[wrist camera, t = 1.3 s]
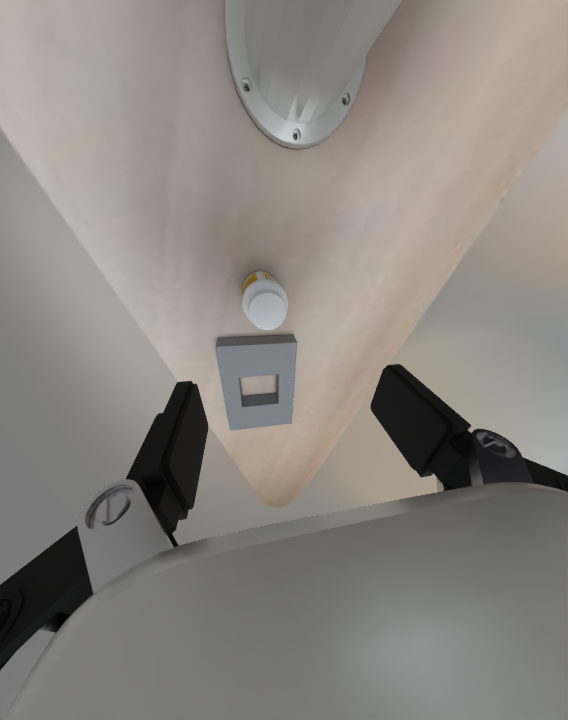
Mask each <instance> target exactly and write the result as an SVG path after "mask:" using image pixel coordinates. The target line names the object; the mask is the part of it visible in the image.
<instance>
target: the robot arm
mask: <svg viewBox="0 0 568 720" xmlns="http://www.w3.org/2000/svg"><path fill="white" fill-rule="evenodd" d="M402 1H403V0H225V32H226V42H227V51H228V56H229V62H230V67H231V72H232V75H233V78H234V81H235V85H236V88H237V91H238V93H239V96H240V98H241V100H242V102H243V104H244V107H245V109H246V110H247V112H248V113H249V115H250V117H251V118H252V120H253V121H254V123H255V124H256V125H257V126H258V127H259V128H260V130H261V131H262V132H263V133H264V134H265V135H266V136H268V137H269V138H270V139H272V140H273V141H274V142H276V143H278V144H280V145H282V146H285V147H288V148H294V149H303V148H309V147H312V146H314V145H317V144H319V143H320V142H322V141H323V140H325V139H326V138H328V137H329V136H330V135H331V134H332V133H333V132H334V131H335V130H336V129H337V127H338V126H339V125H340V124H341V122H342V121H343V120H344V118H345V117H346V115H347V114H348V112H349V110H350V108H351V107H352V105H353V103H354V100H355V98H356V95H357V93H358V90H359V87H360V85H361V81H362V77H363V73H364V69H365V65H366V58H367V53H368V52H369V50H370V49H371V47H372V46H373V44H374V43H375V41H376V40H377V38H378V37H379V35H380V34H381V32H382V31H383V29H384V28H385V26H386V25H387V23H388V22H389V20H390V19H391V17H392V16H393V14H394V13H395V11H396V10H397V8H398V7H399V5H400V4H401V2H402ZM245 87H248V88H249V92H246V91H244V88H245ZM342 100H343V101H344V104H345V105H343V103H342ZM293 135H296V136H297V140H294V138H293ZM371 410H372V412H373V414H374V415H375V416H376V418H377V419H378V421H379V422H380V423H381V425H382V426H383V428H384V429H385V431H386V432H387V433H388V435H389V436H390V438H391V439H392V441H393V442H394V443H395V445H396V446H397V448H398V449H399V451H400V452H401V453H402V455H403V456H404V458H405V459H406V460H407V462H408V463H409V465H410V466H411V467H412V468H413V469H414V470H416V471H417V473H418V474H419V475H420V477H426V476H431V475H432V474H433V473H434V474H435V476H436V477H437V493H432V494H426V495H421V496H416V497H411V498H405V499H400V500H394V501H390V502H385V503H379V504H373V505H368V506H363V507H358V508H353V509H347V510H342V511H337V512H332V513H327V514H322V515H317V516H311V517H307V518H301V519H297V520H291V521H286V522H281V523H276V524H271V525H266V526H261V527H256V528H251V529H246V530H242V531H238V532H233V533H228V534H223V535H219V536H214V537H210V538H205V539H202V540H198V541H194V542H191V543H187V544H183V545H179V543H178V541H177V539H176V537H175V536H174V534H173V532H174V531H175V530H176V527H177V523H178V520H183V519H186V518H187V515H188V510H189V509H192V508H193V506H194V502H195V496H196V491H197V486H198V481H199V475H200V470H201V465H202V459H203V454H204V449H205V443H206V438H207V432H208V422H207V418H206V415H205V411H204V408H203V404H202V400H201V397H200V393H199V389H198V386H197V384H193V382H192V381H185V382H177V384H176V386H175V388H174V390H173V392H172V395H171V397H170V399H169V401H168V404H167V406H166V408H165V410H164V412H163V413H160V414H158V415H157V416H156V418H155V419H154V421H153V424H152V426H151V428H150V430H149V432H148V434H147V436H146V438H145V440H144V442H143V444H142V446H141V448H140V450H139V453H138V455H137V457H136V459H135V461H134V463H133V465H132V467H131V469H130V471H129V474H128V475H127V477H126V480H120V481H117V482H113V483H111V484H110V485H108V486H106V487H104V488H103V489H102V490H100V491H99V492H98V493H96V494H95V495H94V496H93V497H92V498H91V499H90V500H89V501H88V503H87V504H86V505H85V507H84V508H83V510H82V512H81V514H80V516H79V519H78V525H77V526H76V527H75V528H73V529H72V530H71V531H69V532H68V533H67V534H66V535H64V536H63V537H62V538H60V539H59V540H58V541H57V542H55V543H54V544H53V545H51V546H50V547H49V548H47V549H46V550H45V551H44V552H42V553H41V554H40V555H39V556H37V557H36V558H34V559H33V560H32V561H31V562H29V563H28V564H27V565H25V566H24V567H23V568H21V569H20V570H19V571H18V572H17V573H15V574H14V575H12V576H11V577H10V578H8V579H7V580H6V581H5V582H3V583H2V584H1V585H0V716H1V715H2V714H3V712H4V711H5V710H6V708H7V707H8V705H9V704H10V703H11V701H12V700H13V699H14V697H15V696H16V695H17V696H16V698H15V700H14V702H13V703H12V705H11V707H10V709H9V711H8V713H7V714H6V716H5V718H4V720H568V476H567V475H565V474H562V473H560V472H557V471H555V470H552V469H550V468H548V467H545V466H543V465H540V464H538V463H535V462H532V461H530V460H528V459H525V458H523V457H522V455H521V453H520V452H519V450H518V448H517V447H516V446H515V445H514V444H513V443H511V442H510V441H509V440H507V439H506V438H505V437H503V436H501V435H499V434H497V433H495V432H492V431H489V430H486V429H476V430H474V431H473V432H472V433H470V432H469V431H468V429H469V428H470V426H471V425H470V424H469V423H468V422H467V421H466V420H464V419H463V418H462V417H461V416H460V415H459V414H457V413H456V412H455V411H454V410H453V409H452V408H450V407H449V406H448V405H447V404H446V403H445V402H443V401H442V400H441V399H440V398H439V397H438V396H436V395H435V394H434V393H433V392H432V391H431V390H430V389H428V388H427V387H426V386H425V385H424V384H422V383H421V382H420V381H419V380H418V379H417V378H416V377H414V376H413V375H412V374H411V373H410V372H409V371H407V370H406V369H405V368H404V367H403V366H402V365H400V364H395V365H387V366H386V368H384V369H383V371H382V374H381V377H380V380H379V383H378V385H377V388H376V391H375V394H374V397H373V400H372V402H371ZM18 692H19V693H18ZM17 693H18V694H17ZM0 720H2V719H1V718H0Z"/></svg>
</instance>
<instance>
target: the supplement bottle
mask: <svg viewBox="0 0 568 720" xmlns="http://www.w3.org/2000/svg"><path fill="white" fill-rule="evenodd" d="M242 309H243V312H244V314H245V316H246V317H247V318H248V320H249V321H251V322H252V323H253V324H254V325H255V326H256V327H258V328H260V329H262V330H272V329H275V328H277V327H279V326H280V325H281V324H282V323H283V322H284V320H285V318H286V314H287V310H288V297H287V294H286V292H285V290H284V289H283V287H282V286H281V285H280V283H279V282H278V281H277V279H276V278H275V277H274V276H273V275H271V274H269V273H267V272H263V271H258V272H254V273H252V274H251V275H249V276H248V277H247V278H246V280H245V281H244V283H243V287H242Z"/></svg>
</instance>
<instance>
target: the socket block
mask: <svg viewBox="0 0 568 720" xmlns="http://www.w3.org/2000/svg"><path fill="white" fill-rule="evenodd" d="M296 351H297V341H296V339H295V337H294V335H272V336H250V337H229V338H218V340H217V343H216V352H217V358H218V364H219V370H220V375H221V381H222V387H223V392H224V398H225V404H226V410H227V415H228V421H229V427H230V430H239V429H248V428H256V427H265V426H273V425H282V424H290V423H292V412H293V397H294V382H295V367H296ZM276 374H277V393H270V394H259V395H248V396H242V390H241V381H240V377H251V376H264V375H276Z"/></svg>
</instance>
